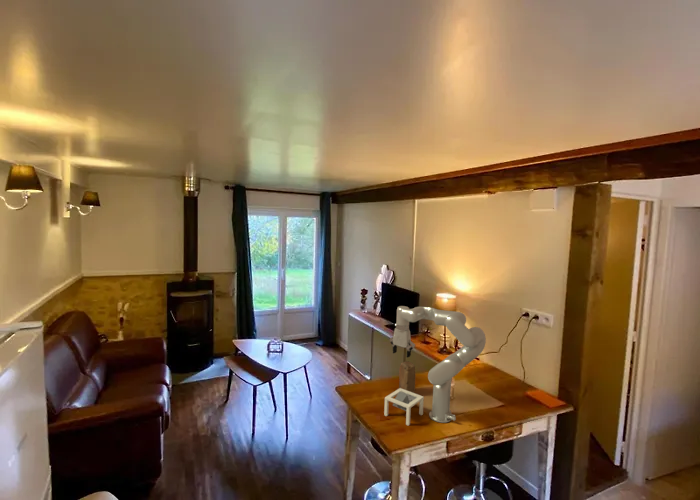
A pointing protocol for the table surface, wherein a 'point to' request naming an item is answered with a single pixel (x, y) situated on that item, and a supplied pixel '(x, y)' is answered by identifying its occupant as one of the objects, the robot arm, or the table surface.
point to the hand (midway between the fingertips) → (401, 354)
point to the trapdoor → (408, 403)
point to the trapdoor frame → (408, 406)
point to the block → (407, 376)
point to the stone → (402, 398)
